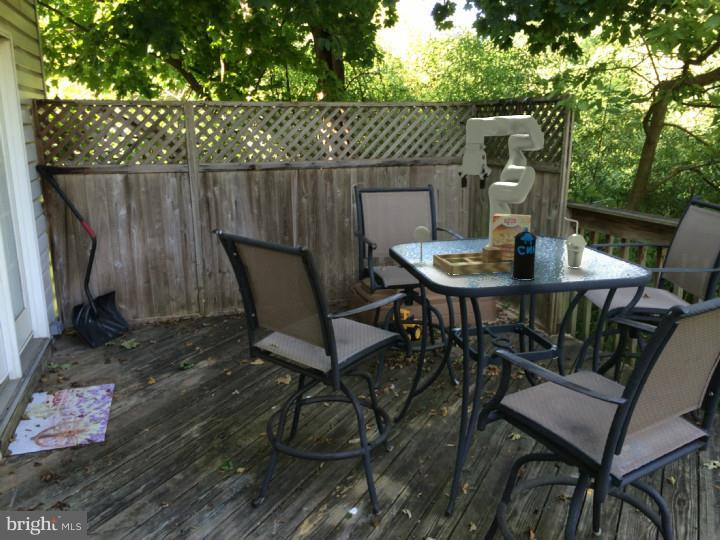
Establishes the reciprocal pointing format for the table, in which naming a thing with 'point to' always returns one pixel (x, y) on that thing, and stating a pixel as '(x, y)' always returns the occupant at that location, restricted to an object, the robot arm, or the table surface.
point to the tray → (468, 264)
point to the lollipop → (421, 235)
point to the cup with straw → (575, 247)
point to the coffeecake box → (508, 232)
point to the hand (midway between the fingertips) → (472, 188)
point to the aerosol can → (524, 254)
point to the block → (491, 255)
